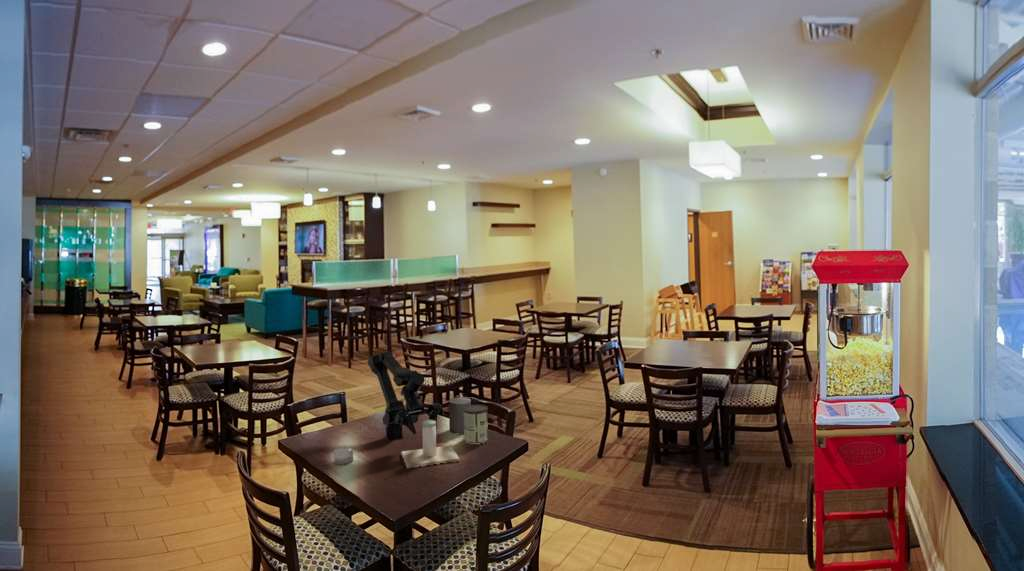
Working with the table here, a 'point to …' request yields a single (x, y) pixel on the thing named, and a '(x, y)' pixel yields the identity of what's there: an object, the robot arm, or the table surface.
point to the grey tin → (343, 455)
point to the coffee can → (475, 424)
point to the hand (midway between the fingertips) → (425, 431)
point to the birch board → (417, 459)
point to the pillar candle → (457, 414)
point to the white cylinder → (429, 438)
